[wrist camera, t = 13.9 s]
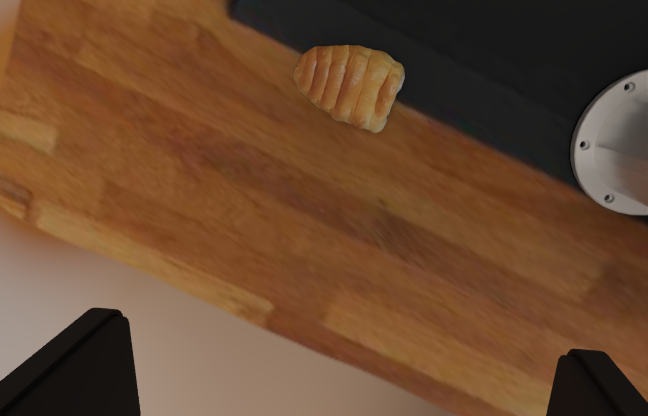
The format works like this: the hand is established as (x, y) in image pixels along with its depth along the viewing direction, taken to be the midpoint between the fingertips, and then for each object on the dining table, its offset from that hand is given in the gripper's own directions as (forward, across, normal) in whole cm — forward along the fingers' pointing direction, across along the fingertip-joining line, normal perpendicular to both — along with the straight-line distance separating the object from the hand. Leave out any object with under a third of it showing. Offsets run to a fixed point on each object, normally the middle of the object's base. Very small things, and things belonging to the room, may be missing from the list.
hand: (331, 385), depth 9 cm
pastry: (+33, +1, -6) cm, 33 cm away
